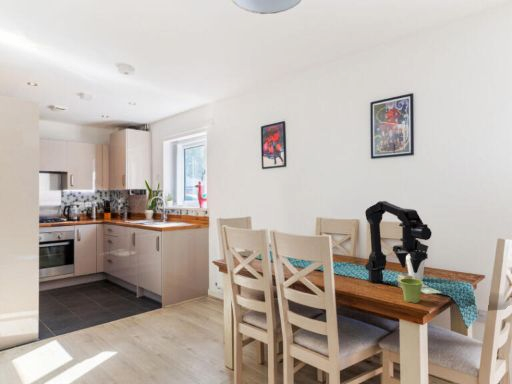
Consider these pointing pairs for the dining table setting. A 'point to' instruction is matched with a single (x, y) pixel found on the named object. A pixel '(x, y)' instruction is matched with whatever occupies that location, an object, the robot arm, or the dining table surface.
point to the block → (403, 276)
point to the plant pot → (411, 289)
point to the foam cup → (420, 270)
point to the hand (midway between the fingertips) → (409, 270)
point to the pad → (429, 290)
